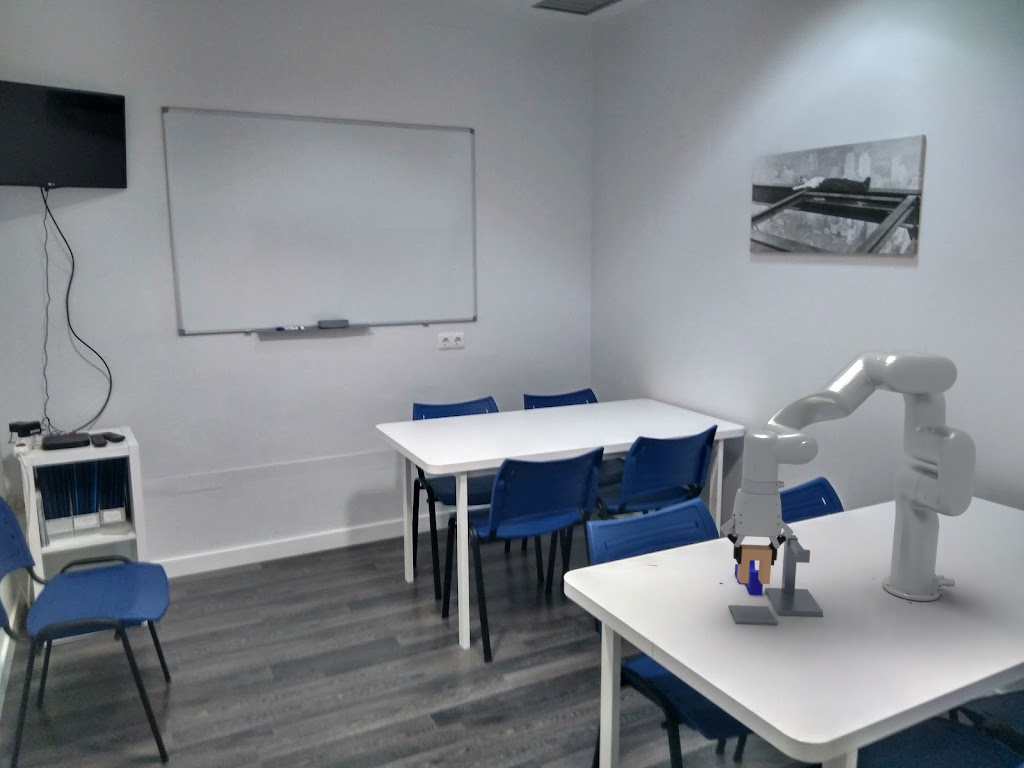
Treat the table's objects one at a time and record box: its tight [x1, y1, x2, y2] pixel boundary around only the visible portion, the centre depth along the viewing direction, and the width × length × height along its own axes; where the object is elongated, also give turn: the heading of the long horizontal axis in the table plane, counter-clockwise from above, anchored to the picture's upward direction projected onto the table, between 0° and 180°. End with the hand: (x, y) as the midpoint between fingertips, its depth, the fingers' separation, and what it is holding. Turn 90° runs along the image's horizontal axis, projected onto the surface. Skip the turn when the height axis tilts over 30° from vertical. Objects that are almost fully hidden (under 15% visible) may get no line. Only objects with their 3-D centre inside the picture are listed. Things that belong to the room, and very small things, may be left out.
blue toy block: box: [734, 560, 764, 596], centre depth 189 cm, size 12×4×6 cm, turn 173°
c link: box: [737, 543, 772, 585], centre depth 171 cm, size 6×3×8 cm, turn 85°
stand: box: [764, 534, 824, 618], centre depth 177 cm, size 10×12×15 cm
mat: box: [728, 604, 778, 626], centre depth 173 cm, size 9×8×1 cm
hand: (754, 561), depth 171 cm, fingers closed on c link, 6 cm apart
